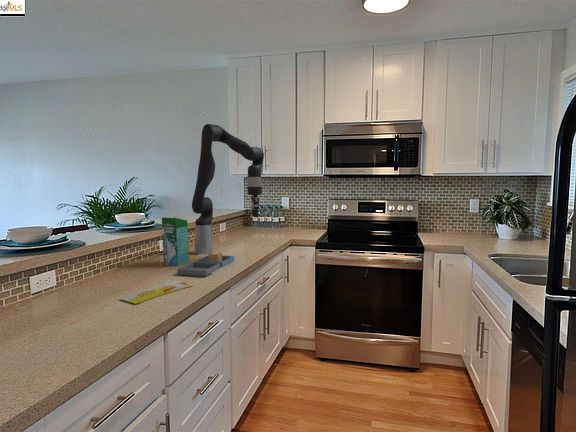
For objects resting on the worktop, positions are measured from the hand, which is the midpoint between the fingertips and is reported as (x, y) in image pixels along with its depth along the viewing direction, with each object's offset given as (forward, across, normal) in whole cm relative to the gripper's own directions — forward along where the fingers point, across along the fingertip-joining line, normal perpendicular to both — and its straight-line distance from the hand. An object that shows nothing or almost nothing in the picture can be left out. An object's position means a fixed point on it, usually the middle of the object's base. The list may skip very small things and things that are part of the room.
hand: (255, 216), depth 196 cm
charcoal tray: (+24, +17, -29) cm, 41 cm away
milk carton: (+25, -3, -41) cm, 48 cm away
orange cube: (+24, +2, -21) cm, 32 cm away
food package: (+25, +45, -44) cm, 68 cm away
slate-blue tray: (+24, +2, -21) cm, 32 cm away
